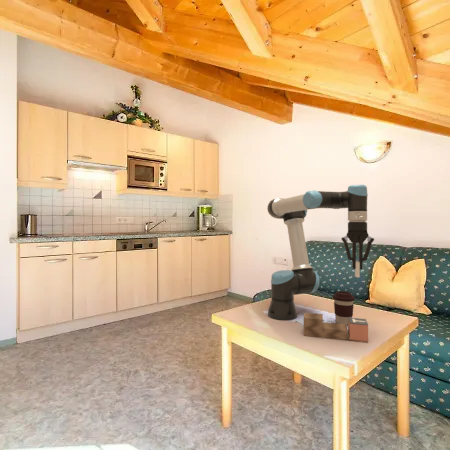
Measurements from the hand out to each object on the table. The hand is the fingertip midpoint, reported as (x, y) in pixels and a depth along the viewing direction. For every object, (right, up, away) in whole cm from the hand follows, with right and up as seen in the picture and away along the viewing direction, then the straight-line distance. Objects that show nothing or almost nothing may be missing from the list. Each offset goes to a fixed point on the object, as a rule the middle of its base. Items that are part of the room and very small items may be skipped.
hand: (357, 276), depth 126 cm
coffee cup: (+2, -26, +19) cm, 32 cm away
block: (0, -19, 0) cm, 19 cm away
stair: (-9, -26, +3) cm, 28 cm away
